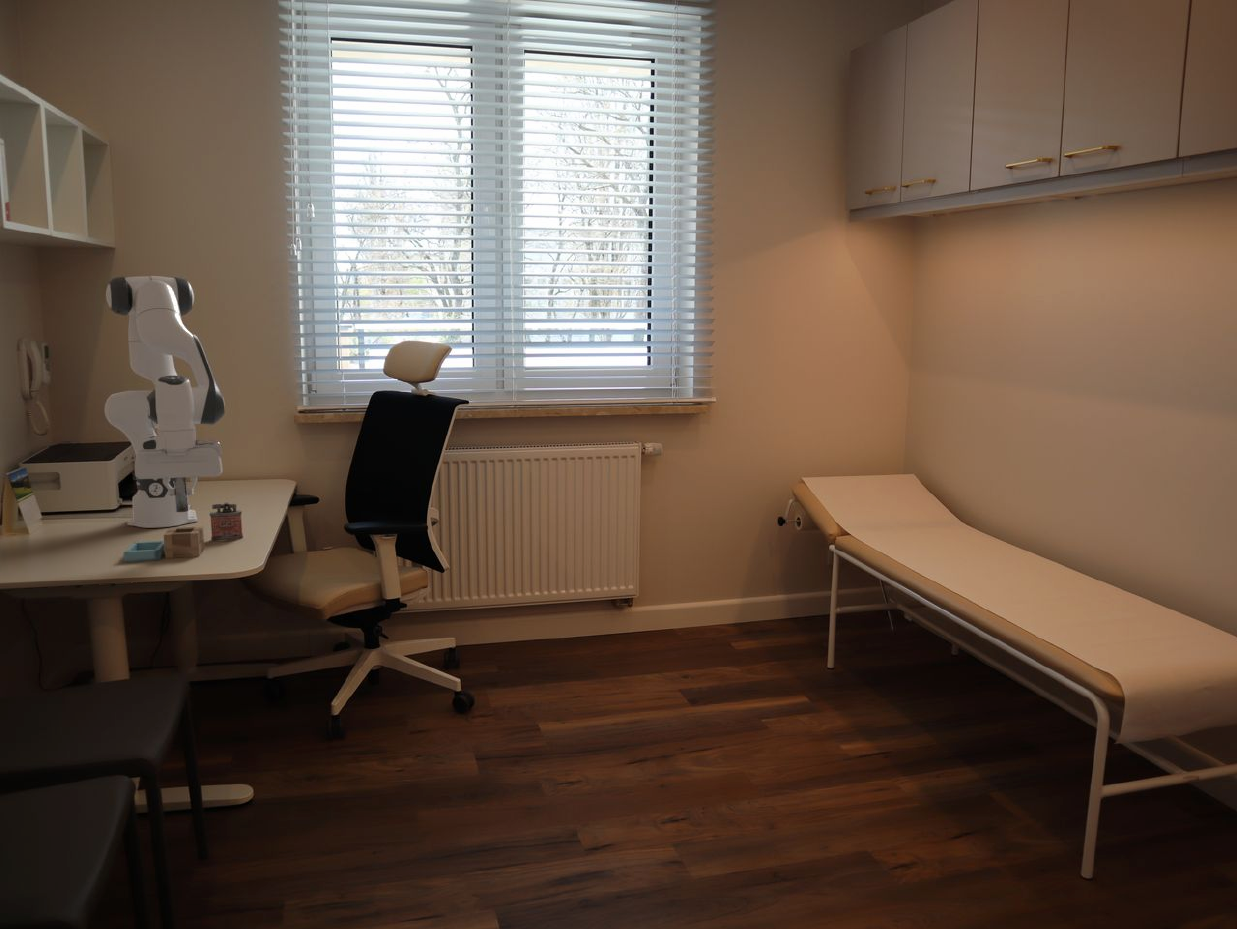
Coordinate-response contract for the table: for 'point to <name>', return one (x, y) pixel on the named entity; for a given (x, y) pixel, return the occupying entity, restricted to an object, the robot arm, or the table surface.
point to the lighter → (226, 522)
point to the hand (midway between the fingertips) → (181, 495)
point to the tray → (145, 551)
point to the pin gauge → (181, 494)
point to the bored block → (184, 542)
